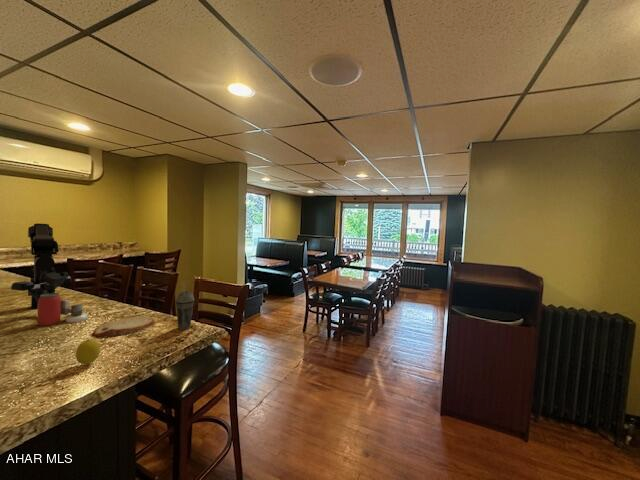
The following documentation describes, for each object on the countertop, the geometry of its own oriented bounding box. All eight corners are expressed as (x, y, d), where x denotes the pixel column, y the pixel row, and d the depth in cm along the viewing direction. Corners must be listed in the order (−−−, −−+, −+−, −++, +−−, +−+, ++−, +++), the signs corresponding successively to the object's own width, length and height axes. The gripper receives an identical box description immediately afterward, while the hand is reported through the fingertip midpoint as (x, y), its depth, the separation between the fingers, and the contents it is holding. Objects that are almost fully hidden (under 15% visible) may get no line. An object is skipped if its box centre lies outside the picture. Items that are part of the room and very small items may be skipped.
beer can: (64, 321, 113) (65, 293, 113) (47, 327, 107) (48, 297, 106) (50, 320, 114) (51, 292, 113) (32, 325, 107) (33, 295, 107)
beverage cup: (197, 326, 116) (199, 281, 115) (182, 332, 109) (184, 283, 108) (185, 323, 119) (187, 278, 118) (170, 328, 112) (172, 281, 111)
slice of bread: (157, 320, 121) (157, 312, 121) (142, 336, 104) (142, 327, 104) (111, 322, 117) (111, 313, 116) (87, 339, 99) (87, 329, 99)
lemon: (85, 360, 84) (85, 335, 84) (104, 360, 84) (104, 335, 84) (70, 369, 78) (70, 343, 78) (90, 370, 79) (91, 343, 79)
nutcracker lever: (84, 313, 117) (85, 294, 116) (74, 316, 113) (75, 296, 112) (45, 308, 121) (45, 289, 120) (34, 310, 117) (34, 291, 117)
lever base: (71, 317, 118) (71, 313, 118) (90, 317, 120) (90, 312, 120) (61, 323, 111) (61, 318, 111) (81, 322, 113) (81, 317, 113)
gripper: (32, 271, 107) (32, 310, 108) (81, 265, 125) (80, 298, 126) (10, 269, 109) (10, 307, 110) (61, 263, 127) (61, 295, 128)
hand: (43, 301), depth 118 cm, fingers open, 3 cm apart
